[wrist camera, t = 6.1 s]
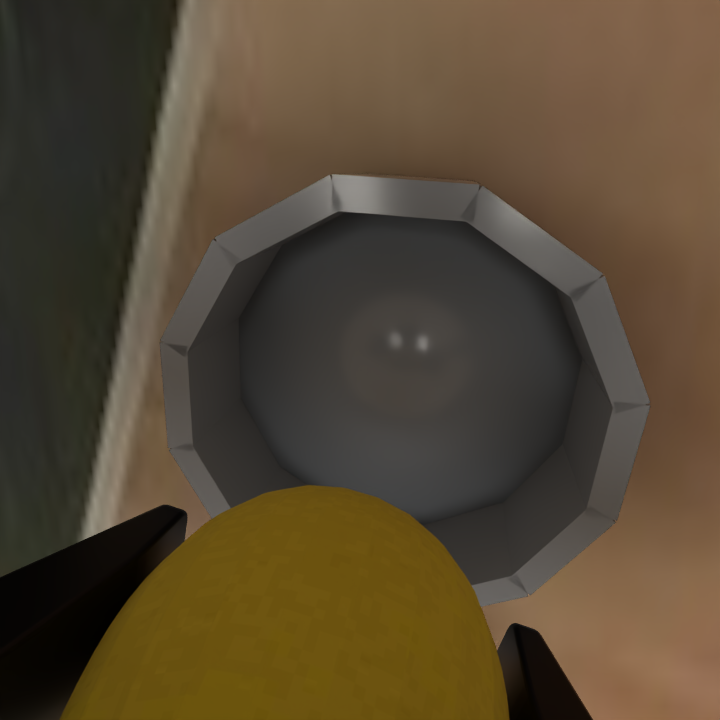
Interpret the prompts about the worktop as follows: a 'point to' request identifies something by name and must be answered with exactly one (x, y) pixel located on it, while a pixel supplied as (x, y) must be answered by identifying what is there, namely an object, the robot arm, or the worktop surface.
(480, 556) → the bowl
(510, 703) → the robot arm
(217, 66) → the worktop surface
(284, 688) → the lemon
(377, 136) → the worktop surface
